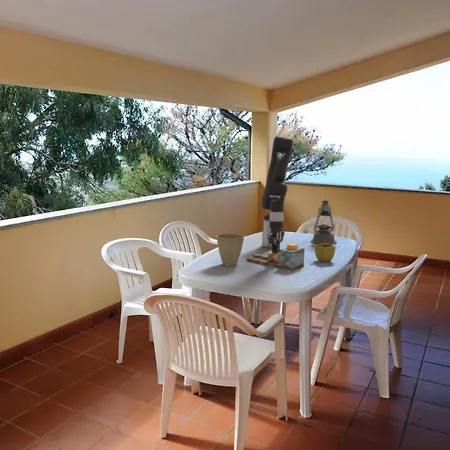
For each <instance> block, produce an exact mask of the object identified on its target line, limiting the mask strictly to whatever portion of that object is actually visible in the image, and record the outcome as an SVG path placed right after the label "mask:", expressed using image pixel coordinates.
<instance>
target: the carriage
mask: <svg viewBox="0 0 450 450" xmlns="http://www.w3.org/2000/svg"><path fill="white" fill-rule="evenodd" d="M280 248H281V243H276V251H275V252H274V251H272V250H270V251H267V252H266V256H267V258H268V260H271V261H276V262H279V251H280Z"/></svg>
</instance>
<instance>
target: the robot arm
mask: <svg viewBox="0 0 450 450" xmlns="http://www.w3.org/2000/svg"><path fill="white" fill-rule="evenodd" d="M293 145H294V140H293V139H292V137H288V136H281V135H276V136H275V137H274V139H273V142H272V149H271V157H270V161H269V166H268V171H267V177H266V181H265V183H266V184H265V187H264V190H263V193H262V198H261V208H262V209H263V210H270V211H269V213H266V214H264V215H263V230H262V233H261V246H262V247H264V248H270V249H271V251H274V252H275V251H276V243H280V244H281V243H282V242H283V240H284V237H285V233H286V231H284V230H283V229H284V217H285V216H284V215H285V214H284V203H285V198H286V196H287V192H288V185H287V184H286V182H285V181H286V177H287V170H288V165H289V162H290V160H291V159H290V158H291V155H292V150H293ZM278 153H280V154H284V155H283V157H282V158H281V159H280V157H279V155H278ZM284 182H285V183H284Z"/></svg>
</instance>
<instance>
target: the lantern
mask: <svg viewBox="0 0 450 450" xmlns="http://www.w3.org/2000/svg"><path fill="white" fill-rule="evenodd" d="M321 203H322V204H320V206H319V207H318V208H317V210H316V212H314V213H312V214H311V215H310V216H309V218H308V219H310V218H311V217H312V216H313V215H314V214H316V213H317V217H316V220H315V224H313V225H308V224H307V222H308V220H306V222H305V225H307V226H308V227H309V228H310V227H313V231H314V234H313V238H312V239H311V240H310V243H311V244H313V245H318V244H325V243H326V244H330V245H332V244H334V245H336V244H338V242H337V241H336V240H335V234H334V233H332V232H334V231H335V224H334V219H333V216H332V210H331V209H332V205H330V204H329V203H330V202H329V200H328V199H327V198H325V199H324V200H321ZM320 217H324V218H322V219H321V218H320ZM327 218H329V219H330V221H329V222H330V223H328V224H327V223H324V221H325V222H326V219H327ZM320 220H321V221H320ZM322 221H323V223H322ZM320 224H321V225H320ZM330 225H331V226H330Z"/></svg>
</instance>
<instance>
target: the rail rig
mask: <svg viewBox="0 0 450 450" xmlns="http://www.w3.org/2000/svg"><path fill="white" fill-rule="evenodd" d="M246 262H250V263H254V262H255V263H256V264H259V265H263V264H264V266H268V265H269V267H272V268H278V269H282V270H287V271H295V270H298V269H300V268H302V267H304V266H305V247H301V246H297V249H296V250H289V249H287V246H286V247H284V248H281V249H280V251H279V262H276V261H271V260H268V258H267V255H265V254H258V253H253V256H250V257H246ZM255 263H254V264H255Z"/></svg>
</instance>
